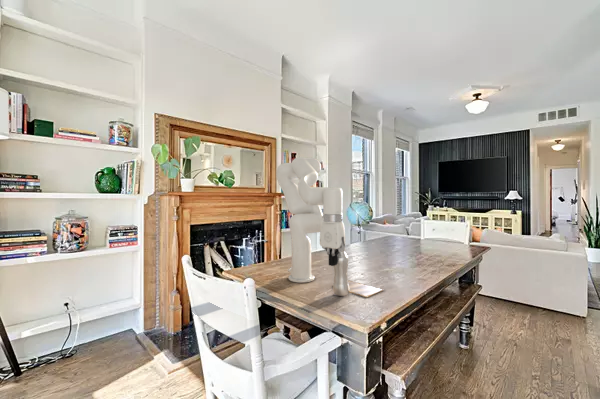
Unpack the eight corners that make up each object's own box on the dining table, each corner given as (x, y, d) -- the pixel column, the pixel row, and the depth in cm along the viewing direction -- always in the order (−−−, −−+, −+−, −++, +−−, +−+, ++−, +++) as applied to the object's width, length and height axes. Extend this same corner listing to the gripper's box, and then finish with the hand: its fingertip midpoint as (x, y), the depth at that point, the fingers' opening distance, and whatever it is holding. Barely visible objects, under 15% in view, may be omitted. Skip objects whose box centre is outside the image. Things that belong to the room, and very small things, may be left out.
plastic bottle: (345, 299, 110) (345, 248, 110) (329, 295, 114) (329, 246, 113) (351, 294, 116) (351, 245, 115) (336, 291, 119) (336, 244, 119)
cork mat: (332, 286, 125) (332, 285, 125) (349, 281, 133) (349, 280, 133) (366, 297, 111) (366, 296, 111) (383, 290, 119) (383, 289, 119)
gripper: (312, 218, 114) (312, 263, 114) (341, 220, 103) (341, 270, 103) (325, 217, 119) (325, 260, 119) (354, 219, 108) (354, 267, 108)
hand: (332, 265), depth 111 cm, fingers closed
